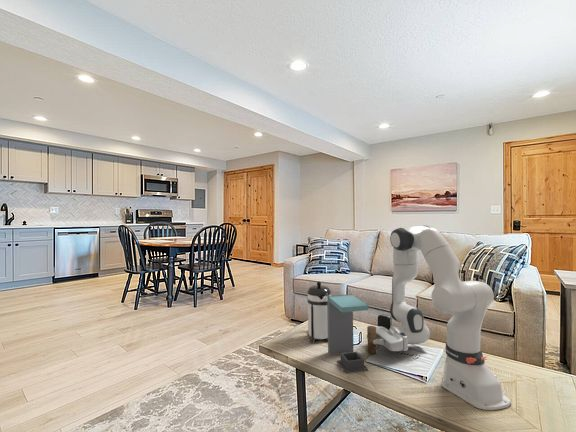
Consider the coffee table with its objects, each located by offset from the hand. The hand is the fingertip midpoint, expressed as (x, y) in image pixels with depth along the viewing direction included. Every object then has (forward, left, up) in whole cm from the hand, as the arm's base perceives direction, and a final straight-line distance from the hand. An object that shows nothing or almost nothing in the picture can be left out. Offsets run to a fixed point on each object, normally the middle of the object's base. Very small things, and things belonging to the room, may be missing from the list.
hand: (370, 339), depth 139 cm
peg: (0, -1, -6) cm, 7 cm away
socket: (-9, +13, -7) cm, 17 cm away
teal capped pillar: (-4, +13, -7) cm, 15 cm away
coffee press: (+23, +18, -7) cm, 30 cm away
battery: (+16, -17, -7) cm, 24 cm away
